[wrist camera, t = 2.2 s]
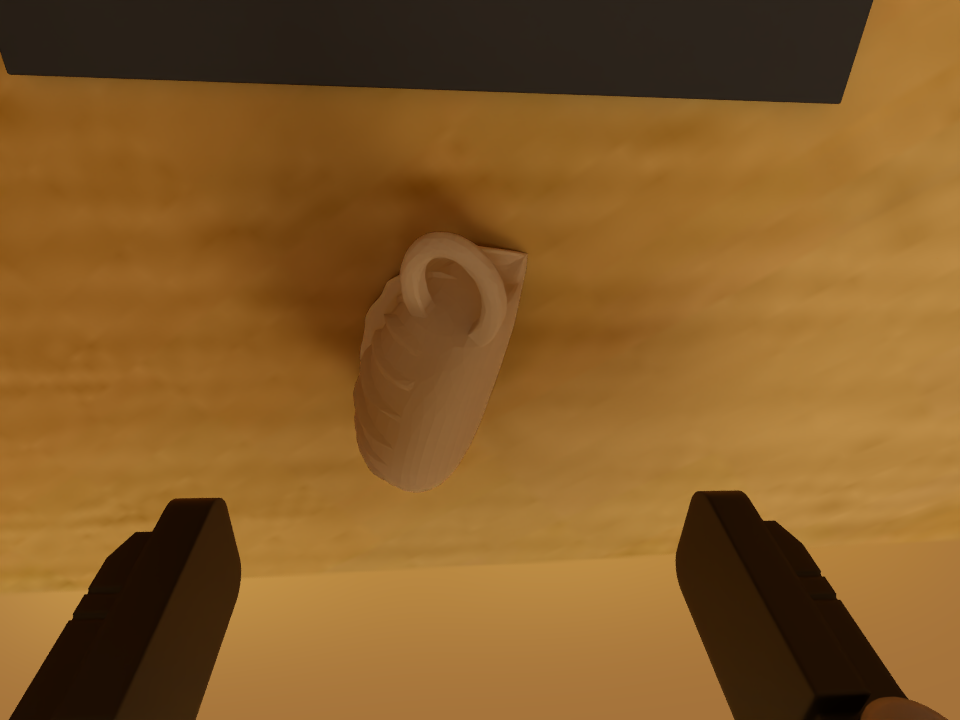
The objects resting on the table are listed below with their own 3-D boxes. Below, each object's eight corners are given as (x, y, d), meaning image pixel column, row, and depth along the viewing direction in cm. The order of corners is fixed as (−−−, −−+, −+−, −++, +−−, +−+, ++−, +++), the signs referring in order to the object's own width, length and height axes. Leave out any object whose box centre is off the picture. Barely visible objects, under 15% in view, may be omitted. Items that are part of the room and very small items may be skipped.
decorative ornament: (342, 413, 19) (314, 539, 15) (410, 160, 16) (400, 224, 11) (461, 440, 20) (470, 566, 16) (553, 207, 16) (600, 284, 12)
